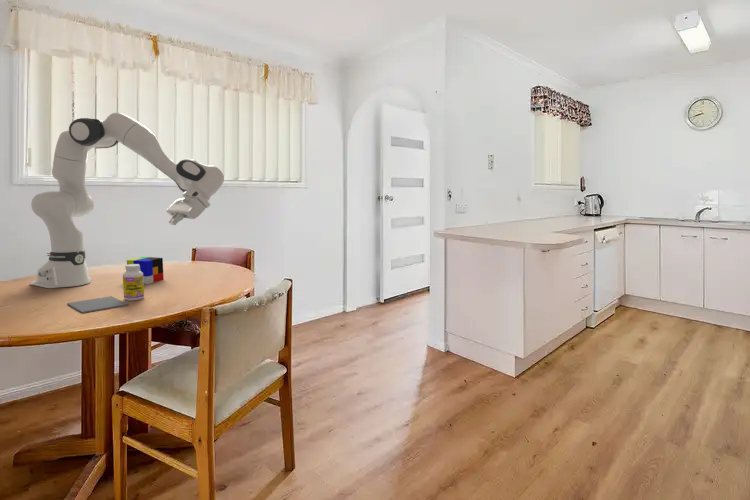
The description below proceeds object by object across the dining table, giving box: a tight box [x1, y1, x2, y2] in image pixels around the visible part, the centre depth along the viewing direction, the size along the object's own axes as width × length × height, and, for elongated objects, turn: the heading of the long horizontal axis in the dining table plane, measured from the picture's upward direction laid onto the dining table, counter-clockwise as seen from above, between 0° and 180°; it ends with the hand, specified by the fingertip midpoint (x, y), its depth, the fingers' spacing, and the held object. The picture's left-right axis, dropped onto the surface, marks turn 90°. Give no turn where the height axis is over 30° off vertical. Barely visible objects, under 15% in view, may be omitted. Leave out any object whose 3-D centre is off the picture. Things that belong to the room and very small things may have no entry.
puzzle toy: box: [126, 256, 165, 285], centre depth 192 cm, size 10×10×10 cm
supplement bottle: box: [122, 264, 145, 302], centre depth 161 cm, size 7×7×13 cm
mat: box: [67, 295, 129, 314], centre depth 153 cm, size 14×16×1 cm
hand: (171, 223), depth 170 cm, fingers closed
